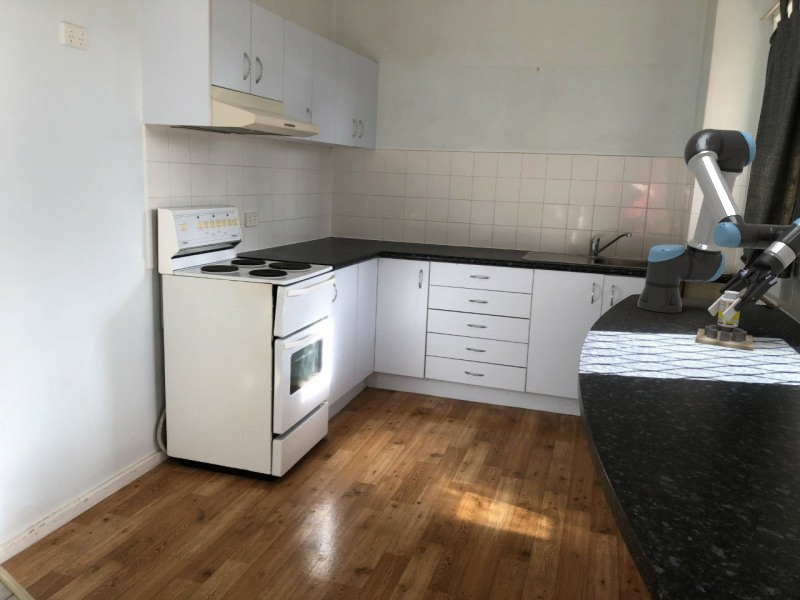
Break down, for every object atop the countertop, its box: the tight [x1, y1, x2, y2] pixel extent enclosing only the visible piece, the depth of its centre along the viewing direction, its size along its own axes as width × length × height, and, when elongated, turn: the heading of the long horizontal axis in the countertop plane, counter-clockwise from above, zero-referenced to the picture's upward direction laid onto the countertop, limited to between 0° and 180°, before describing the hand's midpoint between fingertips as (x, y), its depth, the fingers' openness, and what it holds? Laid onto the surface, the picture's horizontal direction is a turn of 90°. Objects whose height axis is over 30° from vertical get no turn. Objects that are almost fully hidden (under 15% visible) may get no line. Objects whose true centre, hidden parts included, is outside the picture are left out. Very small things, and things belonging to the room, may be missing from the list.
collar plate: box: [694, 324, 754, 351], centre depth 198 cm, size 15×17×4 cm
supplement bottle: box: [717, 291, 741, 329], centre depth 197 cm, size 6×6×10 cm
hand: (718, 314), depth 196 cm, fingers closed on supplement bottle, 5 cm apart
